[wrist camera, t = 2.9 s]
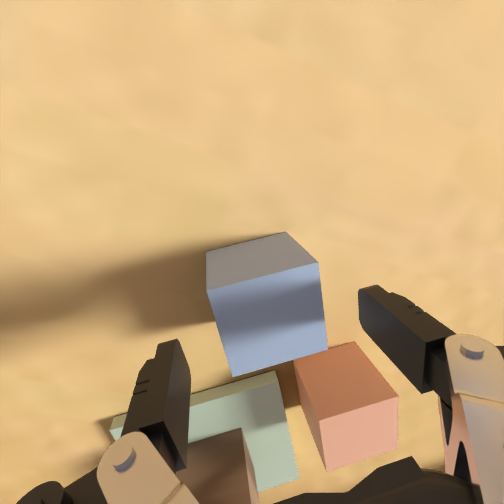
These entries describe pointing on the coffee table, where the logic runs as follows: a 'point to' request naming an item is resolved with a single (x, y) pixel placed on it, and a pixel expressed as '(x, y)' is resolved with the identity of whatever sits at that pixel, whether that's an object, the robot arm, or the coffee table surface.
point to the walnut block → (220, 470)
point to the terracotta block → (347, 405)
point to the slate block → (266, 302)
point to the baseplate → (244, 424)
